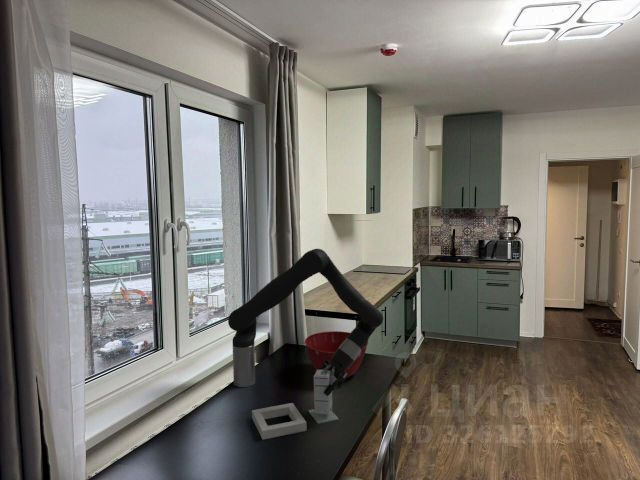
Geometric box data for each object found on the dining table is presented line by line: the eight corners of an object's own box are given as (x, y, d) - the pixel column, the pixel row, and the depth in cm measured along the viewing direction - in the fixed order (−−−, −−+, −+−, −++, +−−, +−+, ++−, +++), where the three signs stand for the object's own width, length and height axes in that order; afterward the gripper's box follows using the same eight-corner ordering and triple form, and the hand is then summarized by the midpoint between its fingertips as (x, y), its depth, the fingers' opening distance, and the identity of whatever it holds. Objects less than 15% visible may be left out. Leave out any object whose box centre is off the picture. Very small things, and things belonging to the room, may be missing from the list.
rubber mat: (308, 411, 169) (308, 410, 169) (328, 407, 172) (328, 406, 172) (317, 423, 160) (317, 422, 160) (338, 419, 163) (338, 418, 163)
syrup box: (329, 415, 163) (329, 376, 161) (313, 413, 164) (313, 375, 162) (332, 407, 168) (332, 370, 167) (317, 406, 169) (316, 368, 168)
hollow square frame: (252, 418, 164) (251, 410, 164) (292, 410, 170) (292, 402, 170) (262, 439, 150) (262, 431, 150) (306, 430, 156) (306, 422, 155)
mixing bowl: (378, 369, 208) (378, 337, 207) (348, 393, 184) (348, 356, 183) (326, 358, 223) (326, 327, 222) (292, 378, 200) (292, 344, 198)
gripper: (331, 342, 173) (304, 377, 169) (350, 354, 161) (322, 392, 157) (342, 353, 176) (317, 388, 172) (363, 365, 164) (336, 403, 160)
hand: (319, 390), depth 164 cm, fingers closed on syrup box, 8 cm apart
